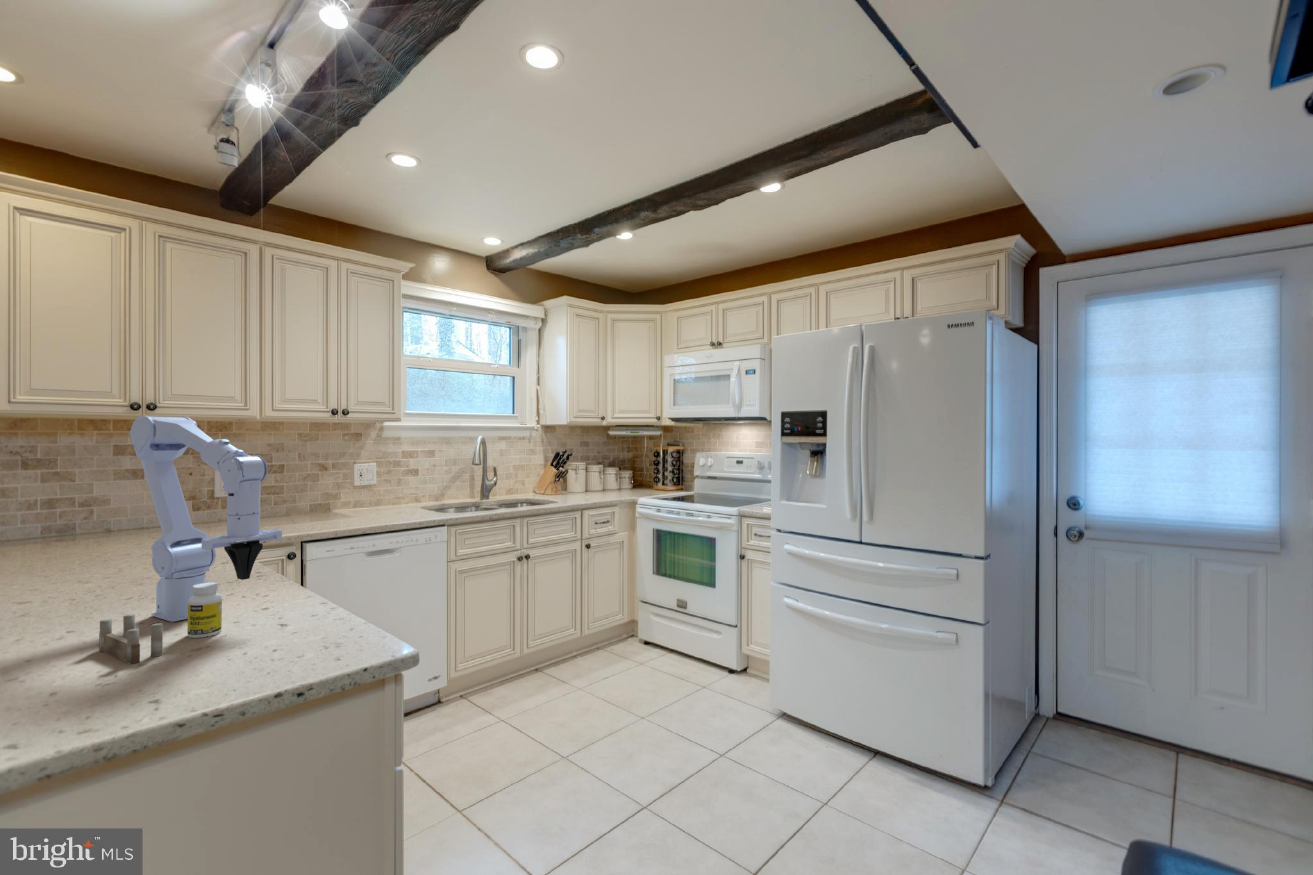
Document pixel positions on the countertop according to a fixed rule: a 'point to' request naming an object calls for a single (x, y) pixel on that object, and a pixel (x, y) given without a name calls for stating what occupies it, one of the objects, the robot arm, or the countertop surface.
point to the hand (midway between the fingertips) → (243, 578)
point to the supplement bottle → (204, 611)
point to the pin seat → (128, 640)
